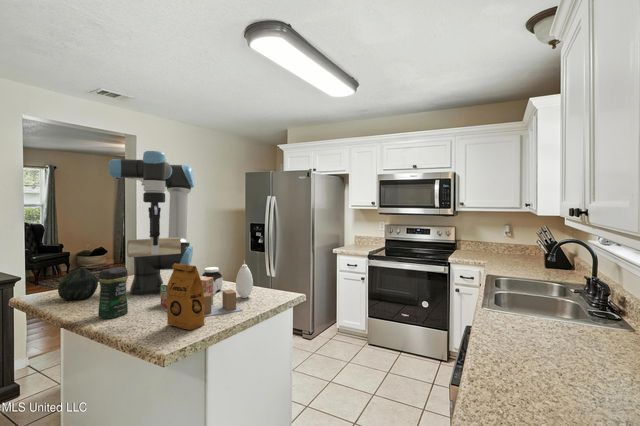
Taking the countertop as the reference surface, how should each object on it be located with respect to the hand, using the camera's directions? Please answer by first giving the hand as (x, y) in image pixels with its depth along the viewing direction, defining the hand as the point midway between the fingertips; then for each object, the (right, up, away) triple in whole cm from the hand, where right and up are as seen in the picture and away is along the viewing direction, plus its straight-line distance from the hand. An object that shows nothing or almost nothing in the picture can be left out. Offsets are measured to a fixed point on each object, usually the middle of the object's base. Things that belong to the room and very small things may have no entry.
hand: (154, 253), depth 127 cm
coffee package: (+16, -25, -8) cm, 31 cm away
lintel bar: (0, -1, 0) cm, 1 cm away
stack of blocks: (+6, -25, +16) cm, 30 cm away
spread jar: (+10, -24, +37) cm, 45 cm away
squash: (-48, -24, +26) cm, 59 cm away
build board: (+21, -25, +8) cm, 34 cm away
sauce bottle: (+28, -24, +28) cm, 47 cm away
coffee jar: (-17, -25, +2) cm, 30 cm away
